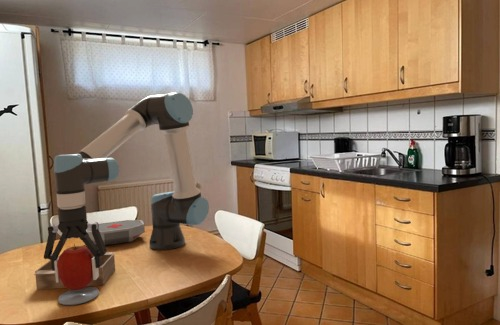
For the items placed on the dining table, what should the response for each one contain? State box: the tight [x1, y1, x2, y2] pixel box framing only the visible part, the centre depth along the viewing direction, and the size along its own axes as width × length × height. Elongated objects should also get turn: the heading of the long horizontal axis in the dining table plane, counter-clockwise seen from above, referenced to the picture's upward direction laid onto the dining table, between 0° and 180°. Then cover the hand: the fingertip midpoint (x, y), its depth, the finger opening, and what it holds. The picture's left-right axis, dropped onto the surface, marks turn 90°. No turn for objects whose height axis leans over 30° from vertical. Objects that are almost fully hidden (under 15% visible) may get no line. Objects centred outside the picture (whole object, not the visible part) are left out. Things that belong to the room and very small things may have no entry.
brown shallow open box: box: [33, 251, 116, 290], centre depth 124 cm, size 21×18×6 cm
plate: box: [57, 286, 99, 306], centre depth 109 cm, size 11×11×1 cm
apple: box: [57, 243, 94, 290], centre depth 109 cm, size 10×10×14 cm
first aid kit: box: [86, 219, 146, 246], centre depth 167 cm, size 18×8×25 cm
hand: (77, 279), depth 109 cm, fingers closed on apple, 10 cm apart
